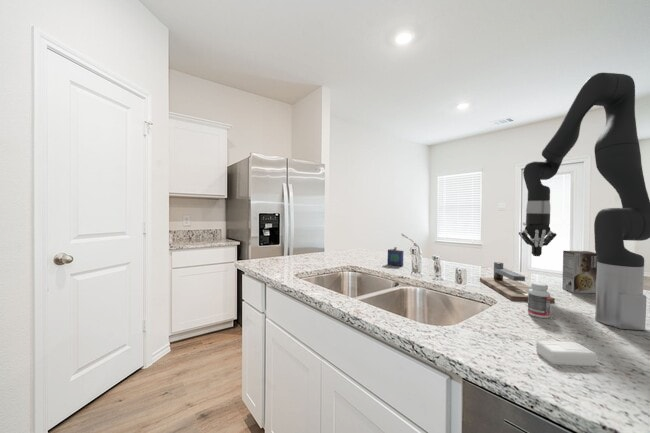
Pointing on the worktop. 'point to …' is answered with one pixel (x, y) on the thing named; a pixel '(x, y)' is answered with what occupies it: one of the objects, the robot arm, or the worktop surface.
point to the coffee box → (579, 271)
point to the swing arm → (506, 273)
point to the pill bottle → (539, 300)
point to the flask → (395, 257)
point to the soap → (566, 353)
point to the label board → (510, 288)
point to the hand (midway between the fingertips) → (536, 255)
